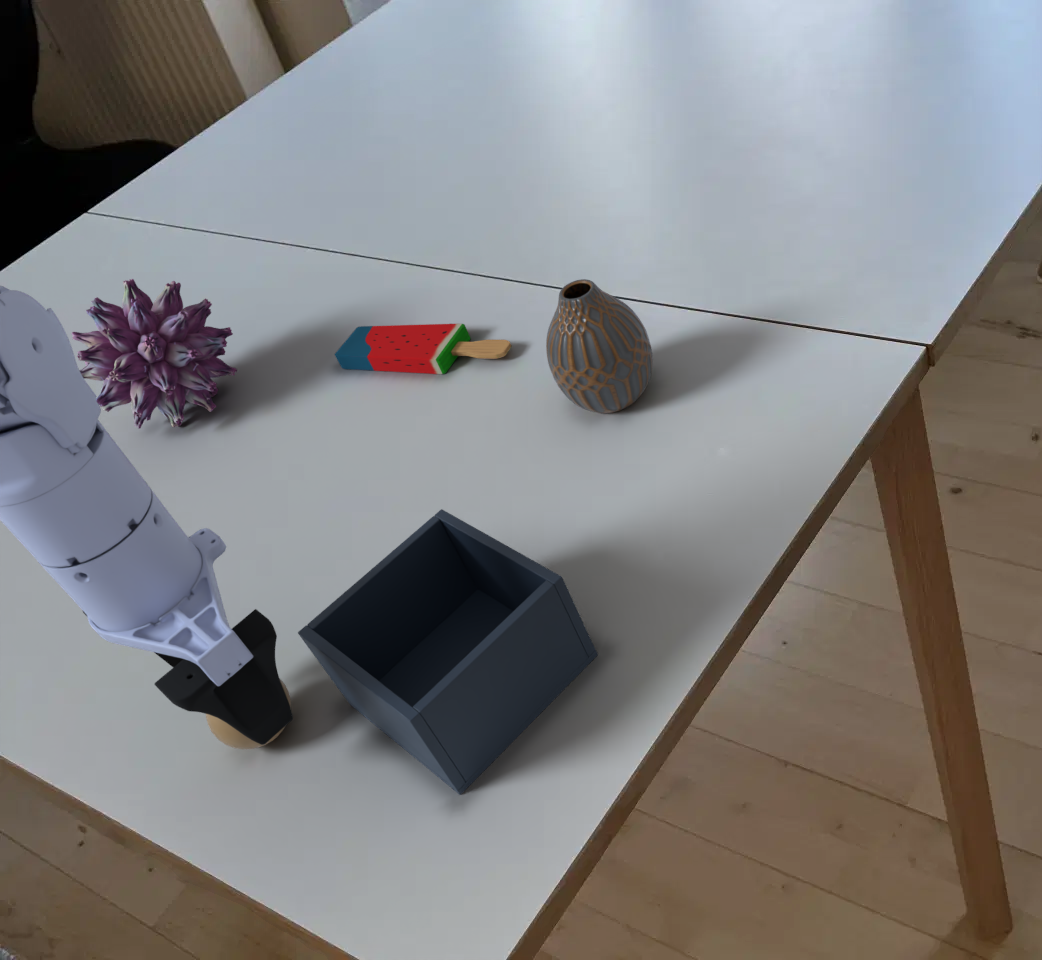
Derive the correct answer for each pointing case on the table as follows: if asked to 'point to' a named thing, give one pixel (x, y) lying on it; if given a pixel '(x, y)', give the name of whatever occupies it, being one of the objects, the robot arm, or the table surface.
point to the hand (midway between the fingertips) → (239, 696)
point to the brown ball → (233, 736)
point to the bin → (452, 646)
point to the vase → (597, 349)
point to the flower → (153, 353)
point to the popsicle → (414, 348)
